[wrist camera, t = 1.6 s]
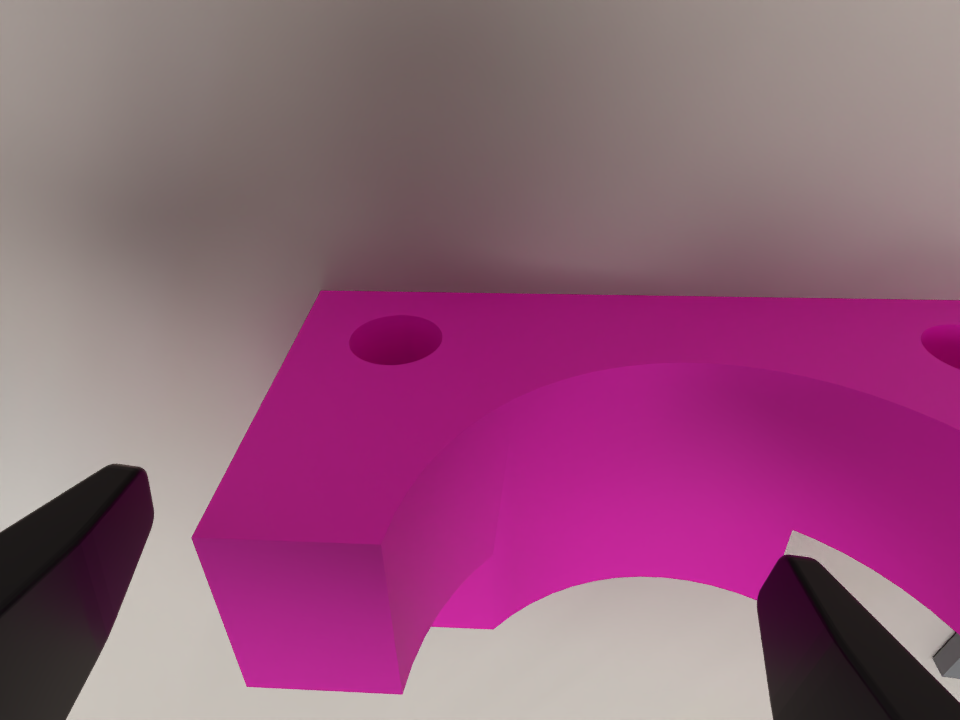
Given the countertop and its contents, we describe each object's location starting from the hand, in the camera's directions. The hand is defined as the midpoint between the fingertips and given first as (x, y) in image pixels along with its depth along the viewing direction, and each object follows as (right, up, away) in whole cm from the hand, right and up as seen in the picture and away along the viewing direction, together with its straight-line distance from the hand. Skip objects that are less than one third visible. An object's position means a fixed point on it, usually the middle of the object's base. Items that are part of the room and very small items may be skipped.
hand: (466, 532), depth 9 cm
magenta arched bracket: (+4, +1, +8) cm, 9 cm away
